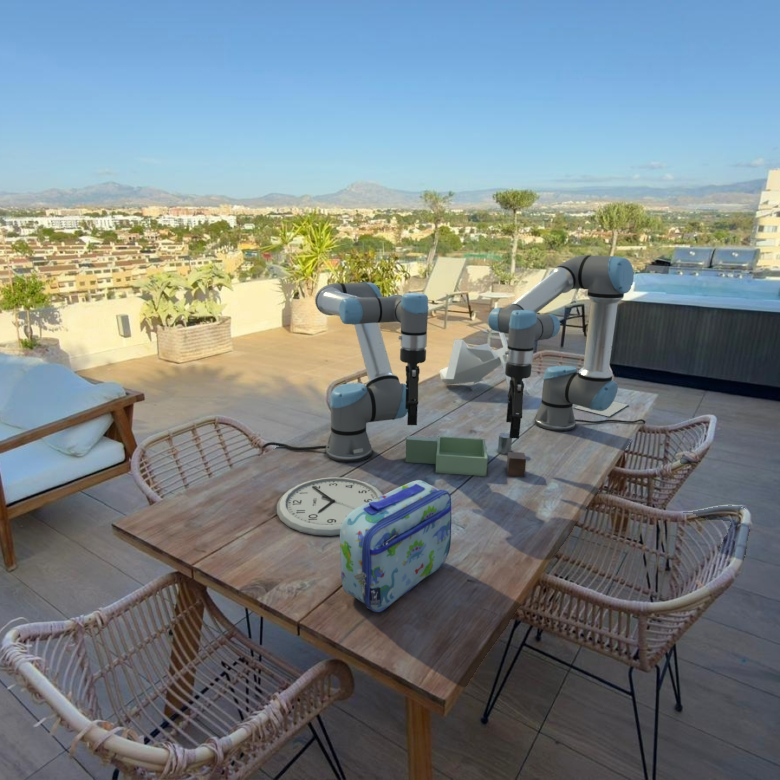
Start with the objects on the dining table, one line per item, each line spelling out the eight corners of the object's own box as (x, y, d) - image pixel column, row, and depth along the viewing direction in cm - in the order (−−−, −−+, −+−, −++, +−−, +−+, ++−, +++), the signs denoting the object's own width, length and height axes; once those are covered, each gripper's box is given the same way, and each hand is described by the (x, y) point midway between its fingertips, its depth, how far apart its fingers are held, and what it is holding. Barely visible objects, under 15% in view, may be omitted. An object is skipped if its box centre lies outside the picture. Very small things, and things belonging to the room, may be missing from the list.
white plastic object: (461, 429, 252) (437, 405, 227) (444, 352, 274) (420, 323, 250) (535, 404, 240) (518, 377, 215) (510, 326, 262) (492, 293, 237)
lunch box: (369, 626, 100) (370, 530, 93) (334, 598, 107) (332, 507, 101) (455, 567, 117) (460, 483, 111) (419, 547, 124) (423, 467, 118)
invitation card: (608, 416, 214) (573, 407, 224) (608, 416, 214) (573, 408, 224) (628, 404, 229) (594, 396, 238) (628, 405, 229) (594, 397, 238)
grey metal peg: (510, 449, 181) (511, 433, 179) (511, 454, 177) (512, 438, 175) (497, 448, 181) (498, 432, 180) (498, 453, 177) (499, 437, 175)
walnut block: (522, 469, 166) (524, 452, 164) (524, 477, 161) (526, 459, 159) (506, 468, 166) (507, 451, 165) (507, 475, 162) (509, 458, 160)
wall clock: (392, 527, 129) (268, 531, 127) (391, 533, 130) (269, 537, 127) (383, 473, 158) (282, 475, 155) (383, 478, 158) (282, 480, 156)
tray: (483, 455, 176) (485, 433, 174) (486, 476, 161) (488, 452, 159) (407, 450, 179) (408, 428, 176) (403, 470, 164) (404, 447, 162)
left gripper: (399, 338, 163) (397, 402, 170) (401, 358, 139) (399, 432, 146) (423, 338, 163) (420, 402, 170) (429, 358, 139) (426, 432, 146)
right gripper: (503, 353, 167) (497, 415, 174) (509, 372, 144) (502, 444, 150) (527, 354, 167) (520, 417, 173) (537, 374, 143) (529, 446, 149)
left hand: (410, 416), depth 158 cm, fingers open, 13 cm apart
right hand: (512, 429), depth 161 cm, fingers open, 13 cm apart
